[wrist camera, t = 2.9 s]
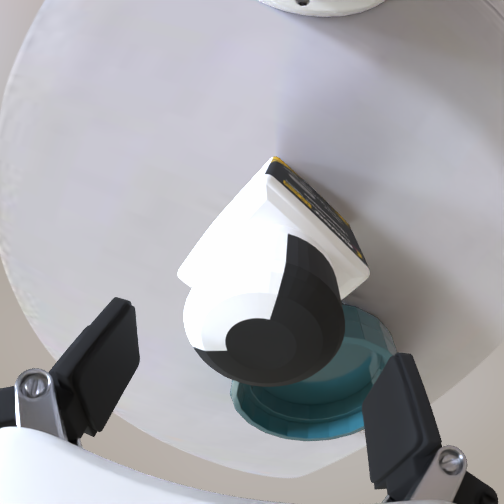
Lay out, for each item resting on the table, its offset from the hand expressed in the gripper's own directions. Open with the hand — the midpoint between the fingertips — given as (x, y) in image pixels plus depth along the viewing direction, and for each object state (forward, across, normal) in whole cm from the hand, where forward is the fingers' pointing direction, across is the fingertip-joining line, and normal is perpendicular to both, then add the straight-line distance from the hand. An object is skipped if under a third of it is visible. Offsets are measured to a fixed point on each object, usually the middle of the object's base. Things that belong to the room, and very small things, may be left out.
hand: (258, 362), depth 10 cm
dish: (+13, -6, +11) cm, 18 cm away
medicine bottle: (+13, 0, -1) cm, 13 cm away
